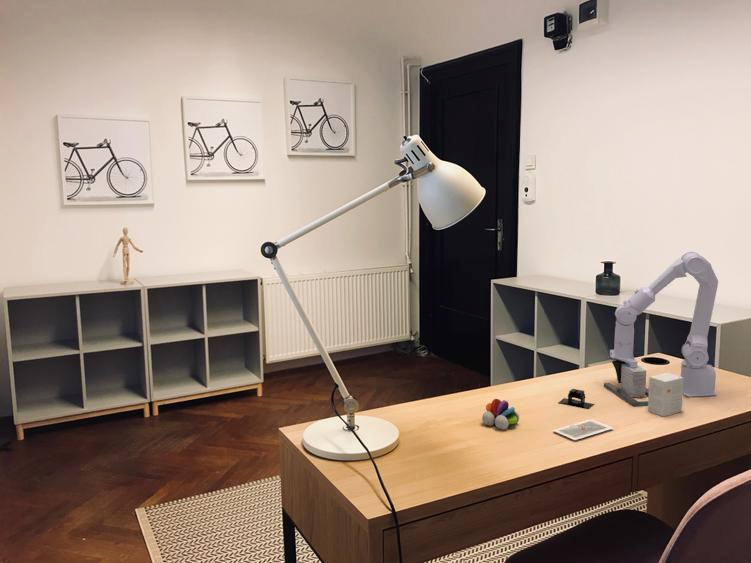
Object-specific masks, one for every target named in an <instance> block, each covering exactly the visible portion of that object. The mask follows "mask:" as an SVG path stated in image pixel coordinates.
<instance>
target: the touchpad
mask: <svg viewBox="0 0 751 563" xmlns="http://www.w3.org/2000/svg"><path fill="white" fill-rule="evenodd" d="M612 429H614V427H612V426H610V425H608V424H605V423H603V422H599V421H597V420H594V419H592V418H590V419H586V420H583V421H579V422H576V423H573V424H569V425H566V426H562V427H558V428H555V429H552V431H553V432H555V433H558V434H559V435H561V436H564V437H567V438H569V439H571V440H574V441H577V440H579V439H583V438H587V437H589V436H590V437H591V436H593V435H596V434H600V433H603V432H606V431H609V430H612Z"/></svg>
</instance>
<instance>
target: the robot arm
mask: <svg viewBox="0 0 751 563" xmlns="http://www.w3.org/2000/svg"><path fill="white" fill-rule="evenodd" d="M687 274H688V275H690V276H692V277H693V278H694V279H695V280H696V281H697V283H698V284H699V285H698V286H699V287H698V291H697V296H696V299H695V300H696V301H695V305H694V306H695V307H694V311H693V315H692V321H691V326H690V329H689V330H690V331H689V333H688V335H687V336H686V337H687V338H686V341H685V343H684V344H683V345H682V346H681V354H682V356H683V357H684V359H683V360H682V361H681V364H680V365H681V366H680V377H683V395H684V396H685V397H688V398H689V397H690V398H691V397H692V398H693V397H709V396H710V397H711V396H716V395H717V393H716V392H715V391H716V380H717V379H716V378H717V377H716V376H717V374H716V373H717V372H716V371H715V368H714V367H713V365H712V364H708V362H709V354H708V347H709V346H708V336H709V331H710V326H711V322H712V321H711V320H712V315H713V310H714V307H715V306H714V305H715V300H716V295H717V291H718V287H719V280H718V277H717V275H716V273H715V270H714V268H713V267H712V264H711V263H710V261H708V260H707V259H706V258H705V257H704V256H702V255H700V254H699V253H697V252H695V251H688V252H686V253H684V254H683V255H682V256H680V257H679V258H678V259H676V260H675V261H673V263H671V264H670V265H669V266H668V267H667V268H666V269H665V270H664V271H663V272H662V273H661V274H660V275H659V276H658V277H657V278H655V280H654V281H653V282H651V283H650V284H649V285H648V286H647V287H640V288H639V289H638V288H636V289H635V290H634V291H633V292H634V293H633V295H631V296H630V297H629V298H628V299H627V300H624V301H622V303H623V304H620V305H619V306H618V307H617V308H616V309H615V312H614V315H615V318H616V320H615V327H614V341H613V342H614V346H613V349H609V356H610V359H613V360H612V362H611V363H612V365H613V367H614V370H615V374H616V377H617V382H618V384H621V367H622V364H628V365H629V366H630V367H631V368H637V365H638V361H637V360H636V358H635V357H634V344H635V343H634V338H635V328H634V326H635V325H634V324H635V322H636V321H637V316H639V315H641V314H642V313H643V312H644V311H645V310H646V309H647V308H649V307H650V306H651V305H652V304H653V303H655V301H656V295H657V294H658V293H660V292H661V291H662V290H663V289H664V288H666V287H667V286H668V285H669V284H671V283H672V282H673V281H674V280H676V279H679V278H687V277H688V275H687ZM614 359H615V360H614Z"/></svg>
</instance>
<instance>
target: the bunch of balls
mask: <svg viewBox="0 0 751 563" xmlns="http://www.w3.org/2000/svg"><path fill="white" fill-rule="evenodd" d="M485 409H486V411H484V413H483V414H482V417H481V418H482V419H481V420H482V423H483V424H484V425H486V426H491V427H492V426H494V425H495V426H496V428H497V429H499V430H502V431H503V430H504V431H505V430H507V429H508V427H509V425H515V424H517V423H519V421H520V415H519V412H518V411H516V408H515V407H513V406H511V407H509V402H508V400H502V401H501V400H500V399H498V398H493V399H492V401H491V402H490V403H487V404H486V405H485Z"/></svg>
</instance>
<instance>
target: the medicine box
mask: <svg viewBox="0 0 751 563" xmlns="http://www.w3.org/2000/svg"><path fill="white" fill-rule="evenodd" d="M646 386H647V370H645V369H644V368H643V367H641V366H639V365H638V364H637V368H631V367H630V366H629V365H628V364H622V367H621V383H620V390H621V391H623V392H624V393H626V394H627V395H629V396H631V397H632V398H634V399H635V398H645V397H646V395H645V391H646V388H647V387H646Z"/></svg>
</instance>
